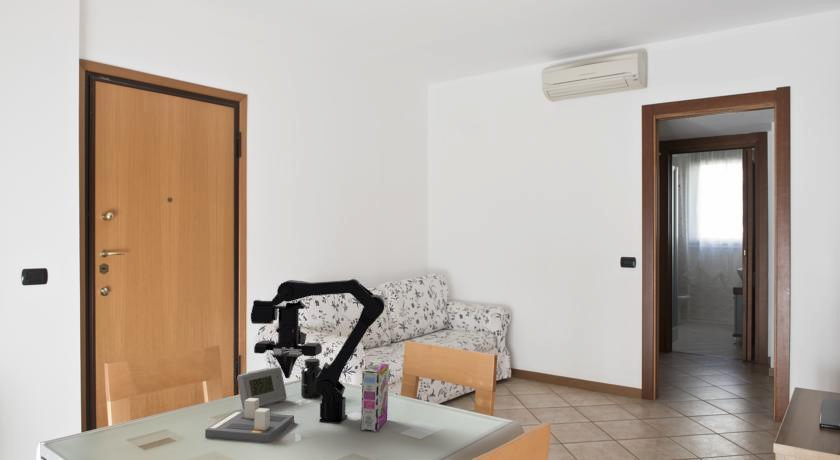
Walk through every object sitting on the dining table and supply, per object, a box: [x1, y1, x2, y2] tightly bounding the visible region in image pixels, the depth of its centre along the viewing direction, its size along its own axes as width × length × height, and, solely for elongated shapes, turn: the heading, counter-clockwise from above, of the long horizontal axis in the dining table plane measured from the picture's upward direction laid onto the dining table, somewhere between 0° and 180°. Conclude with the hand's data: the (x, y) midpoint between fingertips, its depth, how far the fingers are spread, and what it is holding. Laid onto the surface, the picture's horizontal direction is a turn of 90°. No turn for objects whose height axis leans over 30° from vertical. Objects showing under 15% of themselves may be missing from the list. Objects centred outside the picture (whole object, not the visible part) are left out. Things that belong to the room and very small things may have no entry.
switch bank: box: [204, 410, 295, 444], centre depth 155 cm, size 18×16×2 cm
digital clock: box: [236, 366, 287, 411], centre depth 178 cm, size 16×9×11 cm, turn 130°
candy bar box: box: [360, 362, 390, 433], centre depth 160 cm, size 11×5×16 cm, turn 168°
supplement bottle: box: [300, 358, 322, 400], centre depth 188 cm, size 7×7×12 cm
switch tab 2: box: [254, 407, 271, 430], centre depth 150 cm, size 3×3×5 cm
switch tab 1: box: [243, 398, 259, 419], centre depth 160 cm, size 3×3×5 cm
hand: (287, 377), depth 164 cm, fingers closed
